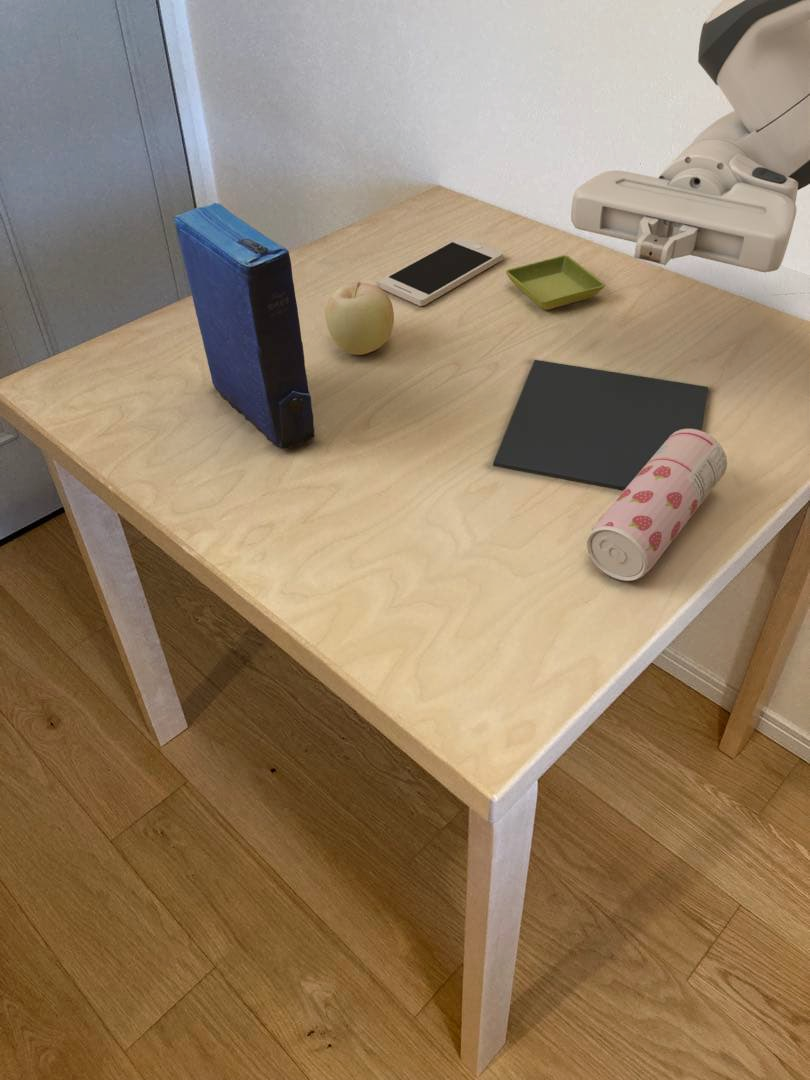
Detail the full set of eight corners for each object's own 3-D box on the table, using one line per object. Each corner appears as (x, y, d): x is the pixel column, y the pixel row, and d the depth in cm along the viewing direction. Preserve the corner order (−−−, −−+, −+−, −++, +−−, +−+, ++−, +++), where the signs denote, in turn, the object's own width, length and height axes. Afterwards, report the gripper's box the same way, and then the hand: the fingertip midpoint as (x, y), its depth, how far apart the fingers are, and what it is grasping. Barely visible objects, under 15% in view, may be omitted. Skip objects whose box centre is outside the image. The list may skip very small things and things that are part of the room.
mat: (707, 389, 91) (708, 386, 91) (690, 502, 79) (691, 499, 79) (534, 362, 96) (534, 359, 95) (493, 465, 84) (493, 462, 83)
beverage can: (672, 417, 78) (586, 515, 70) (735, 440, 76) (653, 545, 68) (663, 466, 82) (580, 565, 74) (722, 489, 80) (643, 594, 72)
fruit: (405, 355, 97) (403, 288, 92) (341, 370, 95) (335, 303, 90) (380, 322, 102) (377, 256, 97) (319, 335, 101) (312, 270, 95)
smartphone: (504, 259, 112) (504, 251, 112) (421, 307, 104) (421, 299, 104) (460, 242, 116) (461, 235, 115) (377, 287, 108) (377, 280, 107)
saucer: (503, 285, 108) (504, 269, 106) (564, 269, 110) (566, 253, 109) (540, 319, 102) (542, 302, 101) (604, 301, 104) (607, 285, 103)
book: (325, 440, 87) (303, 246, 73) (278, 462, 85) (247, 266, 71) (250, 375, 95) (218, 190, 81) (206, 393, 93) (165, 206, 79)
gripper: (606, 144, 90) (546, 195, 81) (816, 184, 82) (774, 245, 73) (598, 205, 94) (541, 260, 86) (797, 249, 86) (755, 314, 78)
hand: (650, 253), depth 79 cm, fingers closed
